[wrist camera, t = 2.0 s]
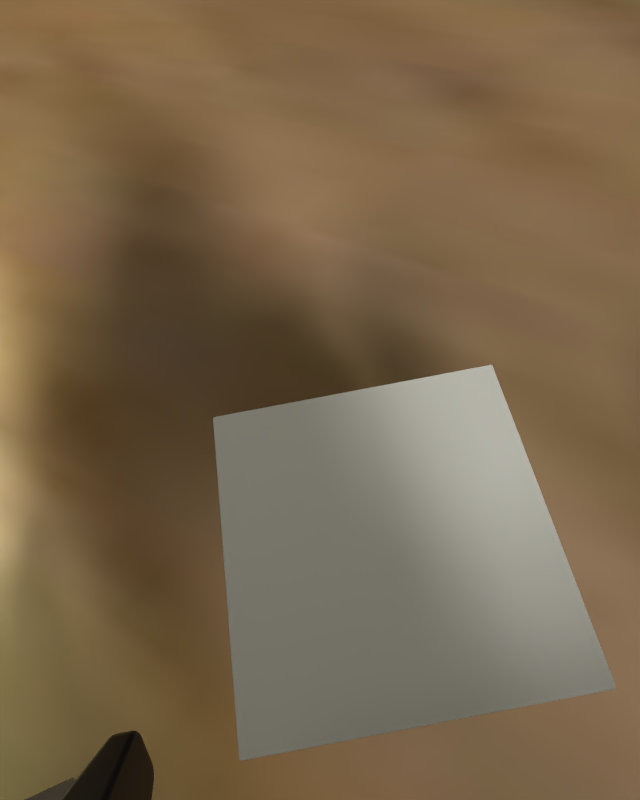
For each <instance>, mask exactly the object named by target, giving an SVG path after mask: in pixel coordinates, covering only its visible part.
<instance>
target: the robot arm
mask: <svg viewBox="0 0 640 800" xmlns="http://www.w3.org/2000/svg"><path fill="white" fill-rule="evenodd" d="M153 781H154V771H153V765H152V762H151V759H150V757H149V754H148V752H147V749H146V747H145V744H144V742H143V739H142V737H141V735H140V733H138V732H137V731H129V732H124V733H118V734H115V735H113V736H111V737H110V738H109V739H108V740H107V741H106V743H105V744H104V745H103V746H102V748H101V749H100V750H99V752H98V753H97V754H96V755H95V757H94V758H93V759H92V761H91V762H90V763H89V764H88V766H87V767H86V768H85V770H84V771H83V772H82V773H81V775H80V776H79V777H78V779H77V780H76V781H75V782H74V784H73V785H72V786H71V788H70V789H69V790H68V791H67V793H66V794H65V795H64V796H63V798H62V799H61V800H151V798H152V790H153Z"/></svg>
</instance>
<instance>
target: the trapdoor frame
mask: <svg viewBox="0 0 640 800" xmlns="http://www.w3.org/2000/svg"><path fill="white" fill-rule="evenodd" d="M74 782H75V781H74V779H73V778H71V779H69V780H67V781H65V782H63V783H61V784H58V785H56V786H54V787H52V788H50V789H47V790H45V791H43V792H41V793H39V794H36V795H34V796H32V797H30V798H28V799H26V800H61V799H62V798H63V796H64V795H65V794H66V793H67V791H68V790H69V789H70V788H71V786H72V785H73V784H74Z"/></svg>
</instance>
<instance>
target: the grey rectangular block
mask: <svg viewBox="0 0 640 800" xmlns="http://www.w3.org/2000/svg"><path fill="white" fill-rule="evenodd" d="M213 425H214V438H215V451H216V464H217V477H218V490H219V503H220V516H221V529H222V542H223V555H224V568H225V581H226V594H227V607H228V620H229V633H230V646H231V659H232V672H233V685H234V698H235V711H236V724H237V737H238V750H239V761H242V760H247V759H252V758H258V757H263V756H268V755H273V754H279V753H284V752H289V751H294V750H299V749H305V748H310V747H315V746H320V745H325V744H331V743H336V742H341V741H346V740H352V739H357V738H362V737H367V736H372V735H378V734H383V733H388V732H393V731H399V730H404V729H409V728H414V727H419V726H425V725H430V724H435V723H440V722H445V721H451V720H456V719H461V718H466V717H472V716H477V715H482V714H487V713H492V712H498V711H503V710H508V709H513V708H518V707H524V706H529V705H534V704H539V703H545V702H550V701H555V700H560V699H565V698H571V697H576V696H581V695H586V694H592V693H597V692H602V691H607V690H612V689H617V688H616V685H615V682H614V680H613V677H612V675H611V672H610V669H609V667H608V664H607V662H606V659H605V656H604V654H603V651H602V649H601V646H600V644H599V641H598V638H597V636H596V633H595V631H594V628H593V625H592V623H591V620H590V618H589V615H588V612H587V610H586V607H585V605H584V602H583V600H582V597H581V594H580V592H579V589H578V587H577V584H576V581H575V579H574V576H573V574H572V571H571V568H570V566H569V563H568V561H567V558H566V555H565V553H564V550H563V548H562V545H561V543H560V540H559V537H558V535H557V532H556V530H555V527H554V524H553V522H552V519H551V517H550V514H549V511H548V509H547V506H546V504H545V501H544V499H543V496H542V493H541V491H540V488H539V486H538V483H537V480H536V478H535V475H534V473H533V470H532V467H531V465H530V462H529V460H528V457H527V455H526V452H525V449H524V447H523V444H522V442H521V439H520V436H519V434H518V431H517V429H516V426H515V423H514V421H513V418H512V416H511V413H510V410H509V408H508V405H507V403H506V400H505V398H504V395H503V392H502V390H501V387H500V385H499V382H498V379H497V377H496V374H495V372H494V369H493V366H492V365H488V366H482V367H477V368H472V369H467V370H461V371H456V372H451V373H445V374H440V375H435V376H429V377H424V378H419V379H414V380H408V381H403V382H398V383H392V384H387V385H382V386H376V387H371V388H366V389H361V390H355V391H350V392H345V393H339V394H334V395H329V396H323V397H318V398H313V399H307V400H302V401H297V402H292V403H286V404H281V405H276V406H270V407H265V408H260V409H254V410H249V411H244V412H239V413H233V414H228V415H223V416H217V417H213Z"/></svg>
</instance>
